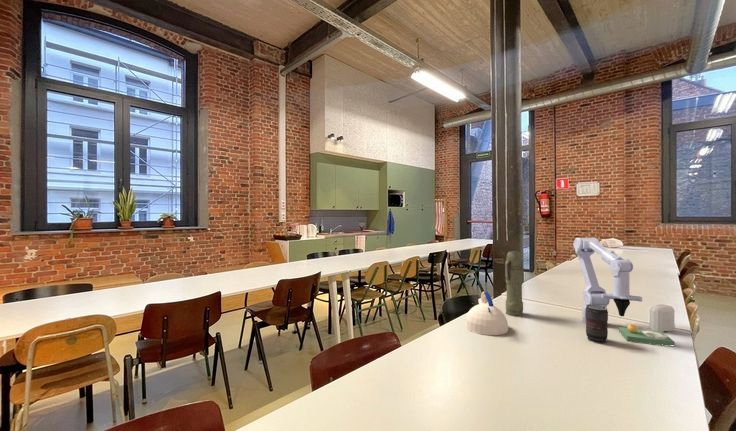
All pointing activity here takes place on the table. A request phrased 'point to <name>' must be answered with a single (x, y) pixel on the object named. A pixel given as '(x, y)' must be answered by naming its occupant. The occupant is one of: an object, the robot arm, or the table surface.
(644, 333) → the mat
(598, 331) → the camera lens
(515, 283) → the thermos
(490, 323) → the kettle
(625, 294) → the robot arm
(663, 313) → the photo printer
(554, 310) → the table surface
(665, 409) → the table surface
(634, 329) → the ball
